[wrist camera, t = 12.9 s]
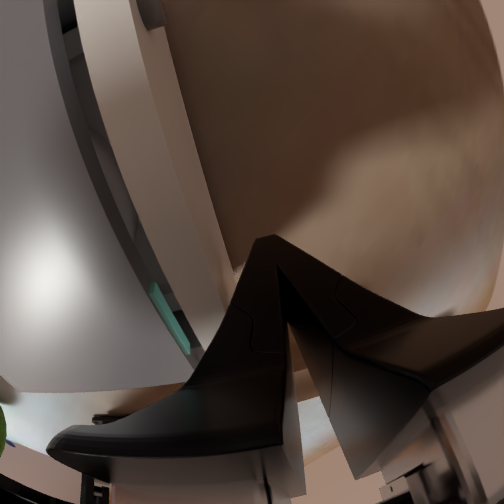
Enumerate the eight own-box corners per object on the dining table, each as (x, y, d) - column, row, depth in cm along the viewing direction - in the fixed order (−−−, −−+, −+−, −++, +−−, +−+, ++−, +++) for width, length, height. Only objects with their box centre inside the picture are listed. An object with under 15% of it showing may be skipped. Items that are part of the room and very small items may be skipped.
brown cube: (318, 350, 19) (334, 391, 16) (263, 365, 19) (272, 408, 16) (316, 313, 17) (336, 359, 14) (251, 331, 17) (261, 380, 14)
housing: (216, 286, 14) (225, 374, 10) (42, 325, 14) (18, 391, 10) (128, -5, 6) (77, -53, 2) (-59, 128, 6) (-122, 164, 2)
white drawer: (243, 275, 14) (264, 376, 9) (47, 321, 14) (20, 398, 9) (167, -8, 6) (136, -79, 2) (-51, 127, 6) (-126, 171, 2)
